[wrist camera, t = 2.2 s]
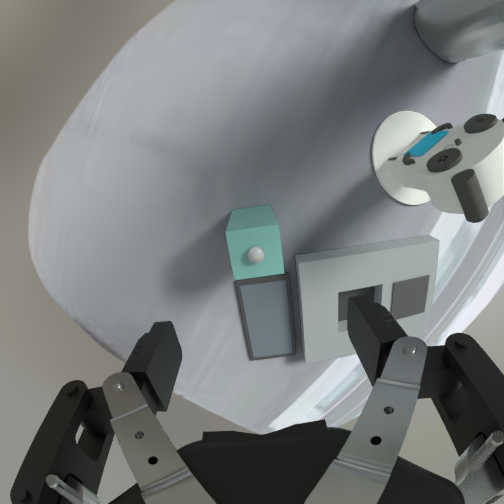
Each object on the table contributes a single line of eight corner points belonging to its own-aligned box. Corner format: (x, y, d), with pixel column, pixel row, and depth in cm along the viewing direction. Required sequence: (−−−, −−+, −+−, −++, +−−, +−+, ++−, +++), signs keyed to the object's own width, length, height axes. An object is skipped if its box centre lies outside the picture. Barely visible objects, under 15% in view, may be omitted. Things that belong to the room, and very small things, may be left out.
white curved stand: (419, 93, 24) (507, 73, 10) (460, 169, 27) (546, 188, 13) (353, 142, 27) (436, 136, 13) (402, 222, 30) (486, 269, 16)
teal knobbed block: (232, 210, 29) (224, 234, 20) (270, 204, 29) (279, 226, 20) (238, 245, 31) (233, 283, 22) (274, 240, 30) (285, 276, 21)
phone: (251, 355, 36) (251, 361, 35) (236, 277, 32) (235, 281, 31) (294, 350, 36) (295, 355, 35) (287, 270, 32) (288, 274, 31)
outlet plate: (294, 255, 31) (298, 264, 28) (428, 234, 30) (440, 241, 28) (302, 351, 35) (305, 364, 33) (418, 325, 35) (426, 335, 32)
